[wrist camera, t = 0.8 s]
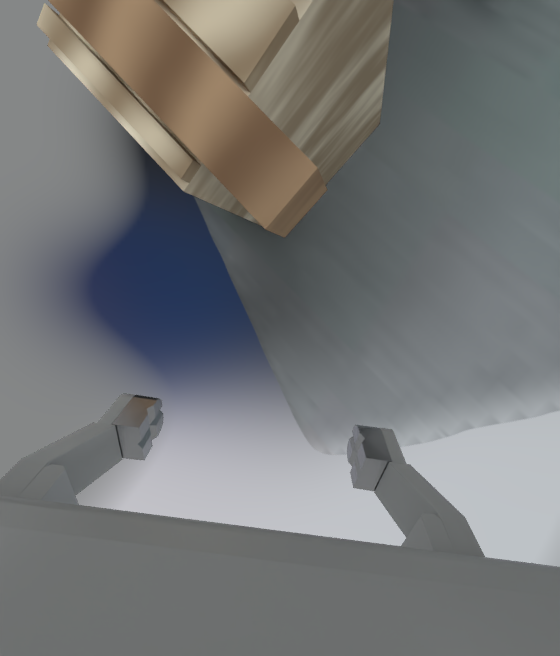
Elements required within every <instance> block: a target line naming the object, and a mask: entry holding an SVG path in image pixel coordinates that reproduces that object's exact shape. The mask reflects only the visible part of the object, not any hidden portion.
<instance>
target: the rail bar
mask: <svg viewBox="0 0 560 656" xmlns="http://www.w3.org/2000/svg"><path fill="white" fill-rule="evenodd" d="M48 1H50V3H51V4H52V5H53V6H54V7H55V8H56V9H57V10H58V11H59V12H60V13H61V14H62V15H63V16H64V18H65V19H66V20H67V21H68V22H69V23H70V24H71V25H72V26H73V27H74V28H75V29H76V30H77V31H78V32H79V33H80V34H81V35H82V37H83V38H84V39H85V40H86V41H87V42H88V43H89V44H90V45H91V46H92V47H93V48H94V49H95V50H96V51H97V52H98V53H99V54H100V56H101V57H102V58H103V59H104V60H105V61H106V62H107V63H108V64H109V65H110V66H111V67H112V68H113V69H114V70H115V71H116V72H117V73H118V75H119V76H120V77H121V78H122V79H123V80H124V81H125V82H126V83H127V84H128V85H129V86H130V87H131V88H132V89H133V90H134V91H135V92H136V94H137V95H138V96H139V97H140V98H141V99H142V100H143V101H144V102H145V103H146V104H147V105H148V106H149V107H150V108H151V109H152V110H153V111H154V113H155V114H156V115H157V116H158V117H159V118H160V119H161V120H162V121H163V122H164V123H165V124H166V125H167V126H168V127H169V128H170V129H171V130H172V132H173V133H174V134H175V135H176V136H177V137H178V138H179V139H180V140H181V141H182V142H183V143H184V144H185V145H186V146H187V147H188V148H189V149H190V151H191V152H192V153H193V154H194V155H195V156H196V157H197V158H198V159H199V160H200V161H201V162H202V163H203V164H204V165H205V166H206V167H207V168H208V170H209V171H210V172H211V173H212V174H213V175H214V176H215V177H216V178H217V179H218V180H219V181H220V182H221V183H222V184H223V185H224V186H225V187H226V189H227V190H228V191H229V192H230V193H231V194H232V195H233V196H234V197H235V198H236V199H237V200H238V201H239V202H240V203H241V204H242V205H243V206H244V208H245V209H246V210H247V211H248V212H249V213H250V214H251V215H252V216H253V217H254V218H255V219H256V220H257V221H258V222H259V223H260V224H261V225H262V226H263V228H264V229H265V230H268V231H270V232H272V233H275V234H277V235H279V236H282V237H284V238H285V237H286V236H287V235H288V234H289V232H290V231H291V230H292V229H293V228H294V227H295V226H296V225H297V223H298V222H299V221H300V220H301V219H302V218H303V217H304V216H305V214H306V213H307V212H308V211H309V210H310V209H311V208H312V207H313V206H314V204H315V203H316V202H317V201H318V200H319V199H320V198H321V197H322V195H323V194H324V193H325V192H326V191H327V188H326V186H325V183H324V181H323V179H322V176H321V174H320V172H319V170H318V168H317V167H316V166H315V165H314V164H313V162H312V161H311V160H310V159H309V158H308V157H307V156H306V155H305V154H304V153H303V152H302V151H301V150H300V149H299V148H298V147H297V146H296V145H295V144H294V143H293V142H292V141H291V140H290V139H289V138H288V137H287V136H286V135H285V134H284V133H283V132H282V131H281V130H280V129H279V128H278V127H277V126H276V125H275V124H274V123H273V122H272V121H271V120H270V119H269V118H268V117H267V115H266V114H265V113H264V112H263V111H262V110H261V109H260V108H259V107H258V106H257V105H256V104H255V103H254V102H253V101H252V100H251V99H250V98H249V97H248V96H247V95H246V94H245V93H244V92H243V91H242V90H241V89H240V88H239V87H238V86H237V85H236V84H235V83H234V82H233V81H232V80H231V79H230V78H229V77H228V76H227V75H226V74H225V73H224V72H223V71H222V69H221V68H220V67H219V66H218V65H217V64H216V63H215V62H214V61H213V60H212V59H211V58H210V57H209V56H208V55H207V54H206V53H205V52H204V51H203V50H202V49H201V48H200V47H199V46H198V45H197V44H196V43H195V42H194V41H193V40H192V39H191V38H190V37H189V36H188V35H187V34H186V33H185V32H184V31H183V30H182V29H181V28H180V27H179V26H178V25H177V24H176V22H175V21H174V20H173V19H172V18H171V17H170V16H169V15H168V14H167V13H166V12H165V11H164V10H163V9H162V8H161V7H160V6H159V5H158V4H157V3H156V2H155V1H154V0H48Z"/></svg>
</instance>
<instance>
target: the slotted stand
mask: <svg viewBox="0 0 560 656" xmlns="http://www.w3.org/2000/svg"><path fill="white" fill-rule="evenodd" d="M154 1H155V2H156V3H157V4H158V5H159V6H160V7H161V8H162V9H163V10H164V11H165V12H166V13H167V14H168V15H169V16H170V17H171V18H172V19H173V20H174V21H175V22H176V24H177V25H178V26H179V27H180V28H181V29H182V30H183V31H184V32H185V33H186V34H187V35H188V36H189V37H190V38H191V39H192V40H193V41H194V42H195V43H196V44H197V45H198V46H199V47H200V48H201V49H202V50H203V51H204V52H205V53H206V54H207V55H208V56H209V57H210V58H211V59H212V60H213V61H214V62H215V63H216V64H217V65H218V66H219V67H220V68H221V69H222V71H223V72H224V73H225V74H226V75H227V76H228V77H229V78H230V79H231V80H232V81H233V82H234V83H235V84H236V85H237V86H238V87H239V88H240V89H241V90H242V91H243V92H244V93H245V94H246V95H247V96H248V97H249V98H250V99H251V100H252V101H253V102H254V103H255V104H256V105H257V106H258V107H259V108H260V109H261V110H262V111H263V112H264V113H265V114H266V115H267V117H268V118H269V119H270V120H271V121H272V122H273V123H274V124H275V125H276V126H277V127H278V128H279V129H280V130H281V131H282V132H283V133H284V134H285V135H286V136H287V137H288V138H289V139H290V140H291V141H292V142H293V143H294V144H295V145H296V146H297V147H298V148H299V149H300V150H301V151H302V152H303V153H304V154H305V155H306V156H307V157H308V158H309V159H310V160H311V161H312V162H313V164H314V165H315V166H316V167H317V168H318V170H319V172H320V174H321V176H322V179H323V181H324V183H325V185H326V184H327V183H328V182H329V181H330V180H331V178H332V177H333V176H334V175H335V174H336V173H337V172H338V170H339V169H340V168H341V167H342V166H343V165H344V164H345V163H346V161H347V160H348V159H349V158H350V157H351V156H352V155H353V153H354V152H355V151H356V150H357V149H358V148H359V147H360V146H361V144H362V143H363V142H364V141H365V140H366V139H367V138H368V137H369V135H370V134H371V133H372V132H373V131H374V130H375V129H376V127H377V126H378V125H379V124H380V116H381V107H382V98H383V89H384V81H385V72H386V63H387V54H388V45H389V36H390V27H391V18H392V9H393V0H154ZM37 26H38V27H39V28H40V29H41V30H42V31H43V32H44V33H45V34H46V35H47V36H48V37H49V38H50V40H49V43H48V47H49V48H50V49H51V50H52V51H53V52H54V53H55V54H56V55H57V56H58V57H59V59H60V60H61V61H62V62H63V63H64V64H65V65H66V66H67V67H68V68H69V69H70V70H71V71H72V72H73V73H74V75H75V76H76V77H77V78H78V79H79V80H80V81H81V82H82V83H83V84H84V85H85V86H86V87H87V88H88V90H89V91H90V92H91V93H92V94H93V95H94V96H95V97H96V98H97V99H98V100H99V101H100V102H101V103H102V105H104V106H105V108H106V109H107V110H108V111H109V112H110V113H111V114H112V115H113V116H114V117H115V118H116V119H117V121H118V122H119V123H120V124H121V125H122V126H123V127H124V128H125V129H126V130H127V131H128V132H129V133H130V134H131V136H132V137H133V138H134V139H135V140H136V141H137V142H138V143H139V144H140V145H141V146H142V147H143V148H144V149H145V151H146V152H147V153H148V154H149V155H150V156H151V157H152V158H153V159H154V160H155V161H156V162H157V163H158V164H159V165H160V167H162V169H164V171H165V172H166V173H167V174H168V175H169V176H170V177H171V178H172V179H173V180H174V181H175V183H176V184H177V185H178V186H179V187H180V188H181V189H182V190H183V191H184V192H186V193H188V194H191V195H193V196H195V197H197V198H200V199H202V200H204V201H206V202H209V203H211V204H213V205H215V206H218V207H220V208H222V209H224V210H227V211H229V212H231V213H233V214H236V215H238V216H240V217H242V218H245V219H247V220H249V221H251V222H254V223H256V224H258V225H260V226H262V225H261V224H260V223H259V222H258V221H257V220H256V219H255V218H254V217H253V216H252V215H251V214H250V213H249V212H248V211H247V210H246V209H245V208H244V206H243V205H242V204H241V203H240V202H239V201H238V200H237V199H236V198H235V197H234V196H233V195H232V194H231V193H230V192H229V191H228V190H227V189H226V187H225V186H224V185H223V184H222V183H221V182H220V181H219V180H218V179H217V178H216V177H215V176H214V175H213V174H212V173H211V172H210V171H209V170H208V168H207V167H206V166H205V165H204V164H203V163H202V162H201V161H200V160H199V159H198V158H197V157H196V156H195V155H194V154H193V153H192V152H191V151H190V149H189V148H188V147H187V146H186V145H185V144H184V143H183V142H182V141H181V140H180V139H179V138H178V137H177V136H176V135H175V134H174V133H173V132H172V130H171V129H170V128H169V127H168V126H167V125H166V124H165V123H164V122H163V121H162V120H161V119H160V118H159V117H158V116H157V115H156V114H155V113H154V111H153V110H152V109H151V108H150V107H149V106H148V105H147V104H146V103H145V102H144V101H143V100H142V99H141V98H140V97H139V96H138V95H137V94H136V92H135V91H134V90H133V89H132V88H131V87H130V86H129V85H128V84H127V83H126V82H125V81H124V80H123V79H122V78H121V77H120V76H119V75H118V73H117V72H116V71H115V70H114V69H113V68H112V67H111V66H110V65H109V64H108V63H107V62H106V61H105V60H104V59H103V58H102V57H101V56H100V54H99V53H98V52H97V51H96V50H95V49H94V48H93V47H92V46H91V45H90V44H89V43H88V42H87V41H86V40H85V39H84V38H83V37H82V35H81V34H80V33H79V32H78V31H77V30H76V29H75V28H74V27H73V26H72V25H71V24H70V23H69V22H68V21H67V20H66V19H65V18H64V16H63V15H62V14H61V13H60V14H59V15H58V14H57V13H56V12H55V11H53V10H52V9H51V8H50V7H49V6H47V5H46V4H45V3H44V6H43V9H42V11H41V14H40V17H39V20H38V22H37Z"/></svg>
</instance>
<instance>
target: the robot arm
mask: <svg viewBox="0 0 560 656" xmlns="http://www.w3.org/2000/svg"><path fill="white" fill-rule="evenodd" d="M161 407H162V401H161V399H159V398H153V397H146V396H140V395H133V394H127V393H123V394H122V395H120V396H119V397H118V399H117V400H116V401H115V402H114V403H113V405H112V406H111V407H110V408H109V409H108V411H107V412H106V413H105V414H104V415H103V417H102V418H101V419H100V420H99V421H98V422H97V423H94V422H93V423H91V424H89V425H87V426H85V427H83V428H81V429H79V430H77V431H76V432H73V433H72V434H70V435H68V436H66V437H64V438H62V439H60V440H58V441H56V442H54V443H52V444H50V445H48V446H46V447H44V448H42V449H40V450H38V451H36V452H34V453H32V454H30V455H28V456H26V457H24V458H22V459H21V460H20V461H19V462H18V463H17V464H16V465H15V466H14V467H13V468H12V469H11V470H10V471H9V472H8V473H7V474H6V475H5V476H4V477H3V478H2V479H1V480H0V656H560V567H557V566H549V565H541V564H533V563H525V562H518V561H510V560H502V559H494V558H487V557H485V556H484V554H483V552H482V550H481V548H480V546H479V544H478V542H477V540H476V538H475V536H474V534H473V532H472V530H471V528H470V526H469V524H468V522H467V520H466V518H465V517H464V516H463V515H462V514H461V513H460V512H459V511H458V510H457V509H456V508H455V507H454V506H452V504H451V503H449V501H447V500H446V499H445V498H444V497H443V496H442V495H441V494H440V493H439V492H438V491H437V490H436V489H435V488H434V487H433V486H432V485H431V484H430V483H429V482H428V481H426V479H425V478H423V477H422V476H421V475H420V474H419V473H418V472H417V471H416V470H415V469H414V468H413V467H412V466H411V465H409V464H406V462H405V459H404V457H403V454H402V452H401V449H400V447H399V444H398V442H397V439H396V437H395V434H394V432H393V430H392V429H385V428H377V427H369V426H361V425H355V426H354V428H353V430H352V432H353V437H351V438H350V439H349V442H348V447H347V457H348V462H349V463H350V464H351V466H352V469H351V472H350V473H351V478H352V483H353V488H357V489H364V490H370V491H375V492H374V493H375V494H376V495H377V497H378V498H379V500H380V501H381V503H382V504H383V505H384V507H385V508H386V510H387V511H388V512H389V514H390V515H391V517H392V518H393V519H394V521H395V522H396V524H397V525H398V527H399V528H400V529H401V531H402V532H403V534H404V535H405V536H406V539H405V541H404V542H403V544H402V546H393V545H386V544H378V543H370V542H362V541H355V540H347V539H339V538H331V537H323V536H316V535H308V534H300V533H292V532H285V531H276V530H269V529H261V528H253V527H245V526H238V525H229V524H222V523H214V522H207V521H199V520H191V519H182V518H175V517H168V516H160V515H152V514H144V513H137V512H128V511H121V510H113V509H106V508H97V507H90V506H82V505H79V504H78V501H77V499H76V496H75V495H77V494H78V493H79V492H81V491H82V490H83V489H85V488H86V487H87V486H88V485H90V484H91V483H92V482H94V481H95V480H96V479H97V478H99V477H100V476H101V475H103V474H104V473H105V472H107V471H108V470H109V469H111V468H112V467H113V466H114V465H116V464H117V463H118V462H120V461H121V460H122V458H126V459H136V460H145V458H146V456H147V455H148V453H149V451H150V449H151V447H152V440H153V439H154V438H156V437H157V436H158V435H159V433H160V431H161V428H162V424H163V413H162V412H161V411H160V409H161Z"/></svg>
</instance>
